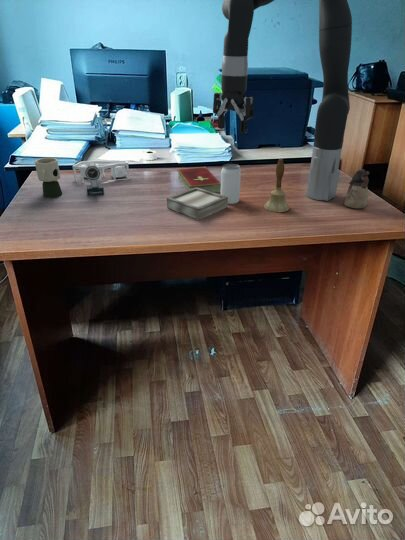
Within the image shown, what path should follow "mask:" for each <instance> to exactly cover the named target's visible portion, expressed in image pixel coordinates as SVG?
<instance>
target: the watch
mask: <svg viewBox="0 0 405 540" xmlns="http://www.w3.org/2000/svg"><path fill="white" fill-rule="evenodd" d="M100 174H101V175H103V173H102V171H101V170H100V171H99V169H98V167H97V164H96V165H95V163H91V164H88V166H87V169H86V171H85V175H86V177H87V178H86V180H87V182H88V183H89V184H87V185H86V192H87V196H98V195H99V196H100V195H104V194H105V192H104V191H105V190H104V183H100V181H99V177H100ZM98 182H99V184H98Z"/></svg>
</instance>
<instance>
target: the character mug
mask: <svg viewBox="0 0 405 540" xmlns="http://www.w3.org/2000/svg"><path fill="white" fill-rule="evenodd" d="M34 164H35V170H36V173H37V179H38V181H39V182H42V195H43V197H44V198H46V199H56V198H59V197H61V196H62V194H63V191H62V187H61V185H60V183H59V181H58V180H60V179H61V173H60V167H59V161H58V159H57V158H56V157H42V158H38V159H35V160H34Z"/></svg>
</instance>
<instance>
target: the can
mask: <svg viewBox="0 0 405 540" xmlns="http://www.w3.org/2000/svg"><path fill="white" fill-rule="evenodd" d="M241 170H242V169H241V165H239V164H235V163H226V164H223V165H222V169H221V172H220V183H221V192H220V195H223V196H226V197H228V205H234V204H237V203H239V202H240V197H241V196H240V194H241V174H242V171H241Z"/></svg>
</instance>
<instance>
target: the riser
mask: <svg viewBox="0 0 405 540" xmlns="http://www.w3.org/2000/svg"><path fill="white" fill-rule="evenodd" d="M228 205H229V204H228V197H226V196H223V195H221V193H220V194H219V193H217V192H215V193H213V192H210V191H207V190H204V189H200V188H197V187H195V188H193V189H190V190H187V189H186V190H185V191H182V192H179V193H176V194H173V195H171V196H169V197H166V208H168V209H171V210H172V211H175V212H178V213H180V214H182V215H185V216H187V215H188V216H187V217H190V216H191V217H190V218H192V217H193V218H192V219H195V218H196V219H195V220H197V219H200V220H202V219H204V217H205V218H206V216H207V217H209V216H211V215H214V214H216V213H218V212H220V211H223V210H224V209H226V208H228ZM213 213H214V214H213ZM208 215H209V216H208ZM201 218H202V219H201Z"/></svg>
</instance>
